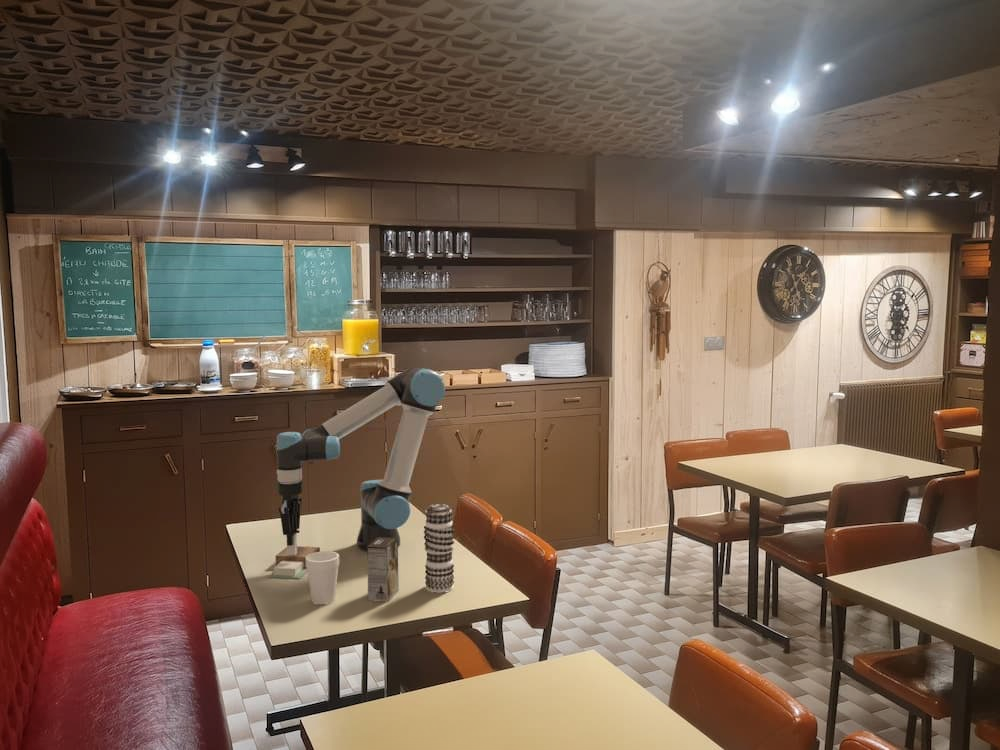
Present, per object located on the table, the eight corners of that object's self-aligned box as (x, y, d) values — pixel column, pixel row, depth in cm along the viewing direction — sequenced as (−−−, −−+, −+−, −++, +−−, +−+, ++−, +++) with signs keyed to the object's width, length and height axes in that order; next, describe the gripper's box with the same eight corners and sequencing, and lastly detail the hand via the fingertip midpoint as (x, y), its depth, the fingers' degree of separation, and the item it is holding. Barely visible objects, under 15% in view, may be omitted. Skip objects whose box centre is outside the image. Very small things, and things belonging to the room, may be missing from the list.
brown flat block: (320, 559, 256) (319, 547, 255) (308, 569, 246) (308, 557, 245) (288, 557, 257) (288, 546, 257) (275, 567, 247) (275, 555, 247)
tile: (303, 568, 246) (303, 561, 246) (295, 575, 239) (295, 568, 239) (283, 567, 247) (282, 560, 247) (273, 574, 240) (273, 567, 240)
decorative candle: (455, 593, 226) (454, 509, 223) (423, 593, 225) (422, 510, 223) (455, 581, 235) (454, 501, 232) (424, 582, 234) (423, 502, 232)
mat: (309, 569, 245) (309, 568, 245) (299, 579, 237) (299, 577, 237) (279, 568, 247) (279, 567, 247) (268, 577, 239) (268, 576, 238)
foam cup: (310, 609, 214) (309, 564, 213) (303, 598, 222) (301, 554, 221) (344, 603, 218) (343, 558, 217) (335, 592, 226) (334, 549, 225)
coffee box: (378, 588, 229) (377, 536, 228) (399, 590, 228) (398, 537, 226) (367, 600, 220) (366, 546, 219) (388, 602, 219) (387, 547, 217)
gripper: (287, 476, 250) (289, 547, 252) (269, 485, 237) (272, 560, 239) (309, 477, 249) (311, 548, 251) (292, 486, 236) (295, 561, 238)
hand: (292, 553), depth 245 cm, fingers closed
